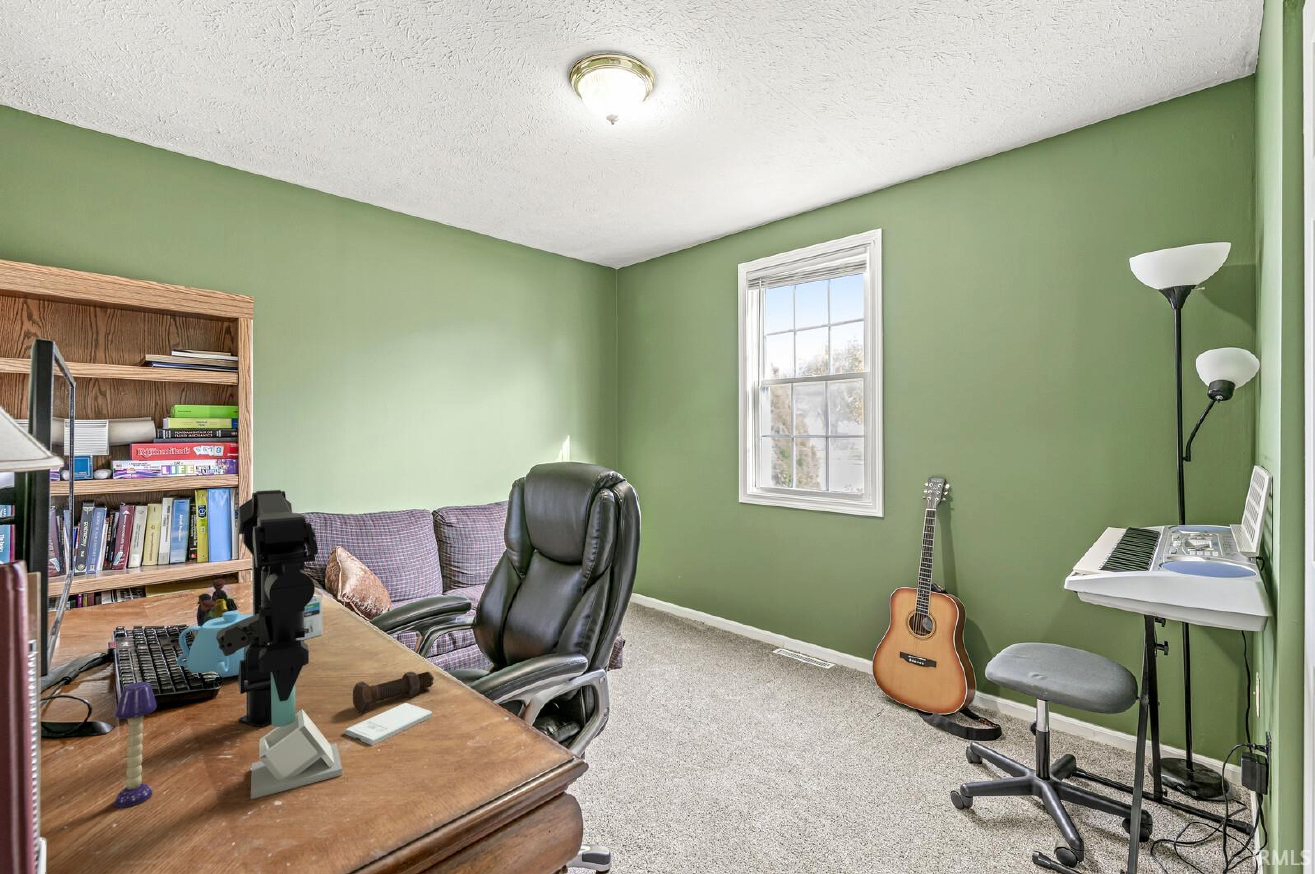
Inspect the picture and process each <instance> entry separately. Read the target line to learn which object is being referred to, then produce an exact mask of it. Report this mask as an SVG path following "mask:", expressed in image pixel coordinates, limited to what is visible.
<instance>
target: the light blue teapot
mask: <svg viewBox="0 0 1315 874" xmlns="http://www.w3.org/2000/svg"><path fill="white" fill-rule="evenodd" d="M222 616H223V617H221V618H216V619H212V620H209V621H207V622H206V623H204V624H203V625H202V627H201V626H198V625H193V626H189V627H187V628H185V629H184V630H182V632H181V633H180V635H179V636H178V643H179V646H180V649H181V651H182V654H180V655H179V656H178V657H177V658H176V663H177V666H179V667H182V666H186V667H187V671H188V670H189V671H190V672H193V673H205V672H209V671H214V672H216V673H218V674H219V675H220V676H221V677H222V678H228V677H233V676H238V672H239V663H240V660H244V648H241V649H239V650H237V651H236V652H235V653H234V654H232V655H229V656H224V654H223V652H222V650H221V649H219V643H218V641H217V639H216V635H217V632H218V631H219V630H221V629H223V628H225V627H227V626H230V625H232V624H234V623H236V622H239V621H241V620H243V619H246V618H248V617H251V616H253V613H252V614H242V613H241V614H240V611H239V610H235V611H229V612H225V613H223V614H222ZM195 631H199V632H198V633H197V635H196V636H194V640H193V642H192V644H191V647H190V648H189V646H188V644H187V641H186V635H187V634H189V633H191V632H195ZM183 658H185V660H186V661H185V660H183ZM189 671H188V672H189ZM190 672H189V673H190Z"/></svg>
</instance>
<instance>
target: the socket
mask: <svg viewBox="0 0 1315 874" xmlns="http://www.w3.org/2000/svg"><path fill="white" fill-rule="evenodd" d="M295 716H296V720H295V721H294V722H293V723H292V724H289V725H287V726H282V727H274V728H273V729H272V730H271V731H269V732H268V733H266V734H264V735H263V736H262V737H261V738H259V747H258V748H259V749H258V750H259V751H258V753H259V756H258V759H259V760H260V761H255V762H251V777H250V778H251V780H250V800H254V799H258V798H261V797H265V796H268V795H273V794H276V793H280V792H284V791H287V790H291V789H294V788H295V789H296V788H298V787H302V786H306V785H310V784H313V783H317V782H321V781H325V780H329V779H332V778H336V777H340V776H343V767H342V761H341V757H340V753H339V748H338V745H337V742H334V743H330V742H329V741H328V740H327V738H325V736H324V735H323V734H322V732H321V731H320V730H319V728H318V727H317V726H316V725H315V724H314V722H313V721H312V720H311V718H310V717H309V716H308V715H307V713H306V712H305V711H304V710H303V708H302V709H300V710H299V711H297V712H295Z"/></svg>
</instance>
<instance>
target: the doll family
mask: <svg viewBox="0 0 1315 874" xmlns="http://www.w3.org/2000/svg"><path fill="white" fill-rule="evenodd" d="M225 584H226V580H225V579H223V578H217V579H214V580H212V584H211V585H213V586H212V587H213V589H214V590H215V591H213V593H212V596H211V595H210V593H202V594H200V595H198V596H197V597H198V600H196V599H195V600H194V601H195V602H197V603H196V604H197V605H198V607H197V611H196V622H197V626H201V627H202V625H203V624H204V623H206V622H207V621H209V620H212V619H216V618H221V617H223V616H222V614H223V613H225V612H229V611H239V609H238V608H241V607H240V606H239V605H238V604H237V603H236V602H235V600H237V599H238V597H229V594H227V592H226V591H225V590H223V588H225ZM198 632H199V631H194V634H193V636H194V635H195V636H194V637H196V635H197V633H198Z"/></svg>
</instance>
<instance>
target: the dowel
mask: <svg viewBox="0 0 1315 874" xmlns="http://www.w3.org/2000/svg"><path fill="white" fill-rule="evenodd" d="M271 710H272V723H271V727H274V728H276V727H282V726H287V725H289V724H292V723H293V722H294V721H295V720H296V716H295V714H296V684H295V685H294V687H293V689H292V692H291V694H290V696H289V699H288V700H286V701H280V700H279V697H278V693H277V689H276V685H275V681H274V678H273V674H272V672H271Z"/></svg>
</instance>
